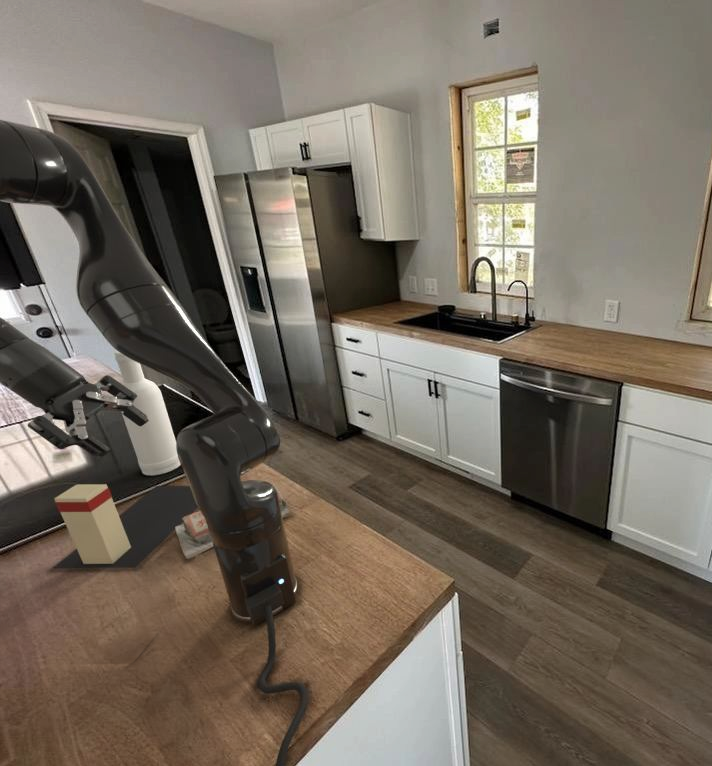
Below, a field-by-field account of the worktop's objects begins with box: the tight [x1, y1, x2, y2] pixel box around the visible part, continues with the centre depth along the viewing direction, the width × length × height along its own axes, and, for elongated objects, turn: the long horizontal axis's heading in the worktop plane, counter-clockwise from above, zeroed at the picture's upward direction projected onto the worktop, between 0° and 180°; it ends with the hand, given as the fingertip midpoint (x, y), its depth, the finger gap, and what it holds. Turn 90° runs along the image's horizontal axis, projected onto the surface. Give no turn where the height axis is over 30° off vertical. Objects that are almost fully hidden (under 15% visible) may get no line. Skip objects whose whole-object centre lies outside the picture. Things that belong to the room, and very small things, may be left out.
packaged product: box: [175, 483, 292, 560], centre depth 83 cm, size 18×5×10 cm
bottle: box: [113, 350, 181, 476], centre depth 96 cm, size 8×8×30 cm
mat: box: [52, 485, 199, 569], centre depth 83 cm, size 24×14×1 cm, turn 2°
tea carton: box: [53, 483, 131, 564], centre depth 72 cm, size 4×5×14 cm
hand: (126, 437), depth 75 cm, fingers open, 8 cm apart
